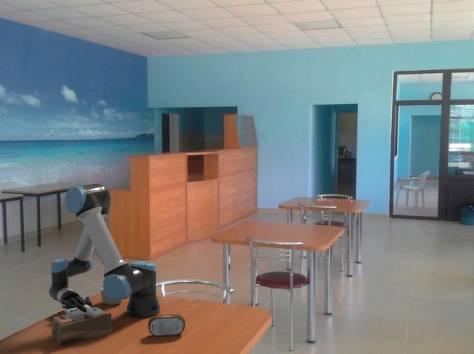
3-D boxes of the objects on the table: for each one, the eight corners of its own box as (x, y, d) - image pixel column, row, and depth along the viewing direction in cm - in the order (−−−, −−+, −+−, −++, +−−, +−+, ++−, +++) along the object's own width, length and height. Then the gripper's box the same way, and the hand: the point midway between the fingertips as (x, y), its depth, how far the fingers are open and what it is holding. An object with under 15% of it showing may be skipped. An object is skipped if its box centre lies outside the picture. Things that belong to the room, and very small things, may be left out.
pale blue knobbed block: (66, 323, 215) (65, 309, 215) (76, 321, 218) (76, 306, 217) (74, 329, 209) (73, 314, 209) (84, 327, 212) (84, 312, 211)
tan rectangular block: (54, 331, 207) (53, 316, 206) (64, 328, 210) (64, 313, 209) (62, 337, 201) (61, 321, 200) (72, 334, 204) (72, 319, 203)
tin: (185, 332, 213) (185, 312, 212) (185, 335, 210) (185, 315, 209) (148, 334, 211) (147, 314, 210) (148, 337, 207) (147, 317, 207)
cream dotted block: (87, 323, 216) (86, 308, 216) (96, 320, 219) (96, 306, 218) (95, 328, 210) (95, 313, 210) (105, 326, 213) (105, 311, 212)
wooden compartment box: (52, 338, 205) (51, 319, 205) (101, 326, 219) (100, 307, 218) (61, 346, 198) (61, 326, 198) (111, 332, 212) (111, 313, 211)
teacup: (118, 307, 242) (117, 291, 241) (96, 306, 244) (96, 289, 243) (130, 298, 256) (129, 282, 255) (109, 296, 258) (109, 281, 257)
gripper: (82, 303, 240) (106, 317, 222) (54, 309, 231) (77, 324, 213) (82, 287, 239) (105, 300, 221) (54, 292, 231) (76, 306, 213)
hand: (91, 312), depth 217 cm, fingers closed
